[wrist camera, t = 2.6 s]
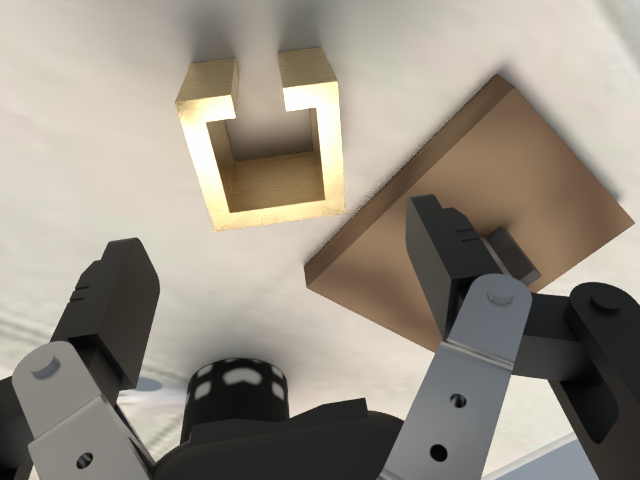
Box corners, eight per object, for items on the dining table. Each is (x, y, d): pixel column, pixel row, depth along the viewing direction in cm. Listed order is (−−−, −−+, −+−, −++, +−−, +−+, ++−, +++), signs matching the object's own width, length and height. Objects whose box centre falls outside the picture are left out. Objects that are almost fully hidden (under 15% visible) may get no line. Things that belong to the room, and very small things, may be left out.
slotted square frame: (331, 162, 24) (345, 213, 20) (221, 178, 24) (214, 231, 20) (321, 46, 20) (337, 81, 16) (190, 63, 20) (175, 102, 16)
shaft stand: (435, 337, 35) (468, 417, 30) (303, 266, 29) (315, 352, 23) (614, 205, 29) (699, 277, 23) (496, 74, 22) (575, 130, 17)
